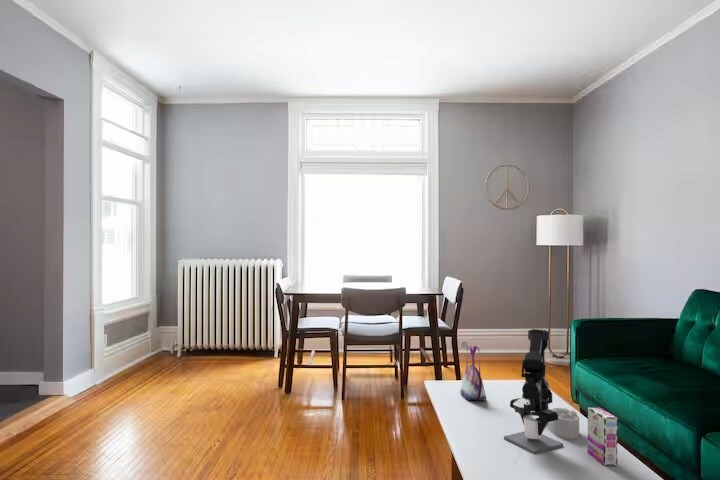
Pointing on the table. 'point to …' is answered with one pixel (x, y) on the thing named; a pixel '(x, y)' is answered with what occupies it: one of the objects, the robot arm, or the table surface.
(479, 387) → the handbag
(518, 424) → the table surface
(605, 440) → the candy bar box
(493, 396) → the table surface
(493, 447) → the table surface
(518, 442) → the charcoal mat
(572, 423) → the lumpy-topped squat cylinder
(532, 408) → the robot arm
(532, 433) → the shot glass
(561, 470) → the table surface
